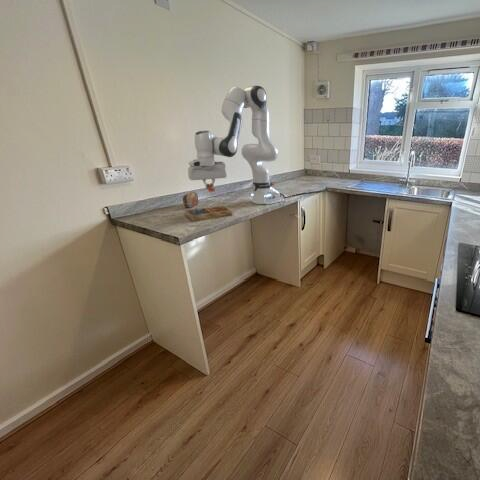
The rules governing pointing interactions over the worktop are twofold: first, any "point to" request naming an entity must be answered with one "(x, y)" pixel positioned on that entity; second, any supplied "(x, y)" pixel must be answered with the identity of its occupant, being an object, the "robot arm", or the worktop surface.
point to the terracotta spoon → (210, 188)
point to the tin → (190, 199)
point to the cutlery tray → (209, 213)
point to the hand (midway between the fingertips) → (209, 186)
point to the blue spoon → (198, 211)
